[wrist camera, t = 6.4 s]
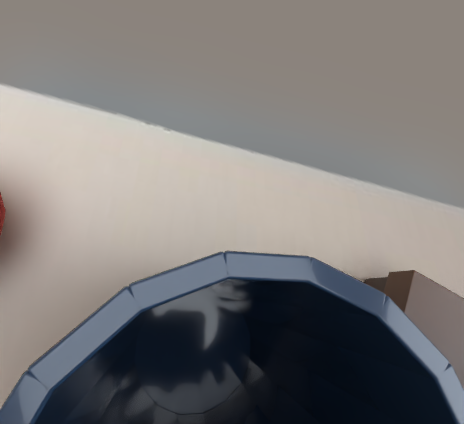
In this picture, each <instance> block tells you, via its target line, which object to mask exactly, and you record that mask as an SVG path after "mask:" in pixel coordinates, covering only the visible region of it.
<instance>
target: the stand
mask: <svg viewBox="0 0 464 424" xmlns="http://www.w3.org/2000/svg"><path fill="white" fill-rule="evenodd" d="M365 284H367V285H369V286H371V287H373V288H375V289H377V290H379V291H381V292H383V293H385V294H386V295H387V296H388V297H390V298H391V299H392V300H393V301H394V302H395V304H396V305H397V306H398V307H399V308H400V309H401V310H402V311H403V312H404V313H405V314H406V315H407V316H408V317H409V319H410V320H411V321H412V322H413V323H414V324H415V325H416V326H417V327H418V328H419V329H420V330H421V331H422V332H423V333H424V335H425V336H426V337H427V338H428V339H429V340H430V341H431V342H432V343H433V344H434V345H435V346H436V347H437V348H438V349H439V351H440V352H441V353H442V354H443V355H444V356H445V357H446V358H447V359H448V360H449V363H450V364H451V365H452V366H453V368H454V370H455V372H456V374H457V376H458V378H459V380H460V382H461V384H462V386H463V388H464V298H462V297H460V296H458V295H457V294H455V293H453V292H451V291H450V290H448V289H446V288H445V287H443V286H441V285H439V284H438V283H436V282H434V281H432V280H431V279H429V278H427V277H425V276H424V275H422V274H420V273H418V272H417V271H415V270H410V271H399V272H389V275H388V277H385V278H370V279H366V281H365Z"/></svg>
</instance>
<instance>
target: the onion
mask: <svg viewBox="0 0 464 424" xmlns="http://www.w3.org/2000/svg"><path fill="white" fill-rule="evenodd" d="M4 219H5V207H4V203H3V200H2V197H1V193H0V235H1V232H2V228H3V223H4Z"/></svg>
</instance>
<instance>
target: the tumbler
mask: <svg viewBox="0 0 464 424" xmlns="http://www.w3.org/2000/svg"><path fill="white" fill-rule="evenodd" d="M0 424H464V388H463V386H462V384H461V382H460V380H459V378H458V376H457V374H456V372H455V370H454V368H453V366H452V365H451V364H450V363H449V360H448V359H447V358H446V357H445V356H444V355H443V354H442V353H441V352H440V351H439V349H438V348H437V347H436V346H435V345H434V344H433V343H432V342H431V341H430V340H429V339H428V338H427V337H426V336H425V335H424V333H423V332H422V331H421V330H420V329H419V328H418V327H417V326H416V325H415V324H414V323H413V322H412V321H411V320H410V319H409V317H408V316H407V315H406V314H405V313H404V312H403V311H402V310H401V309H400V308H399V307H398V306H397V305H396V304H395V302H394V301H393V300H392V299H391V298H390V297H388V296H387V295H386V294H385V293H383V292H381V291H379V290H377V289H375V288H373V287H371V286H369V285H367V284H365V283H363V282H361V281H359V280H357V279H355V278H353V277H351V276H349V275H347V274H345V273H343V272H341V271H339V270H337V269H335V268H333V267H331V266H329V265H327V264H325V263H323V262H321V261H319V260H317V259H315V258H313V257H309V256H301V255H285V254H270V253H254V252H238V251H225V252H218V253H215V254H212V255H210V256H207V257H204V258H201V259H198V260H195V261H193V262H190V263H187V264H184V265H181V266H178V267H175V268H173V269H170V270H167V271H164V272H161V273H158V274H155V275H153V276H150V277H147V278H144V279H141V280H138V281H135V282H133V283H131V284H129V286H126V287H124V288H122V289H121V290H120V291H119V292H118V293H116V294H115V295H114V296H113V297H112V298H110V299H109V300H108V301H107V302H106V303H104V304H103V305H102V306H101V307H100V308H98V309H97V310H96V311H95V312H94V313H92V314H91V315H90V316H89V317H88V318H86V319H85V320H84V321H83V322H82V323H80V324H79V325H78V326H77V327H76V328H74V329H73V330H72V331H71V332H69V333H68V334H67V335H66V336H65V337H63V338H62V339H61V340H60V341H59V342H57V343H56V344H55V345H54V346H53V347H51V348H50V349H49V350H48V351H47V352H45V353H44V354H43V355H42V356H41V357H39V358H38V359H37V360H36V361H35V362H33V363H32V364H31V365H30V366H29V368H28V370H26V371H25V372H24V373H23V374H22V376H21V377H20V379H19V380H18V382H17V383H16V385H15V387H14V388H13V390H12V391H11V393H10V394H9V396H8V398H7V399H6V401H5V402H4V404H3V405H2V407H1V409H0Z"/></svg>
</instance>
